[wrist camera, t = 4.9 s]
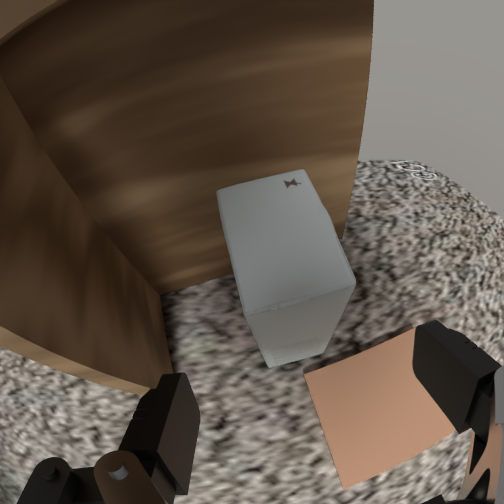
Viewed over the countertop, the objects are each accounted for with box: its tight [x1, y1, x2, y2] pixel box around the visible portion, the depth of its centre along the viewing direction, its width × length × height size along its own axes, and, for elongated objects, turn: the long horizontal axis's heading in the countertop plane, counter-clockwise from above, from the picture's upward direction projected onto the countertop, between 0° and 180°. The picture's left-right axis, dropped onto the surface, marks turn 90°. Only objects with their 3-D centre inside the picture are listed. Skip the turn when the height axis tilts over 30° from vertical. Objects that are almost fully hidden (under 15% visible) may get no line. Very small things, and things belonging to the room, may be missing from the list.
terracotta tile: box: [304, 327, 455, 489], centre depth 17 cm, size 9×9×1 cm
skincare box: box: [216, 169, 356, 368], centre depth 16 cm, size 6×4×12 cm
